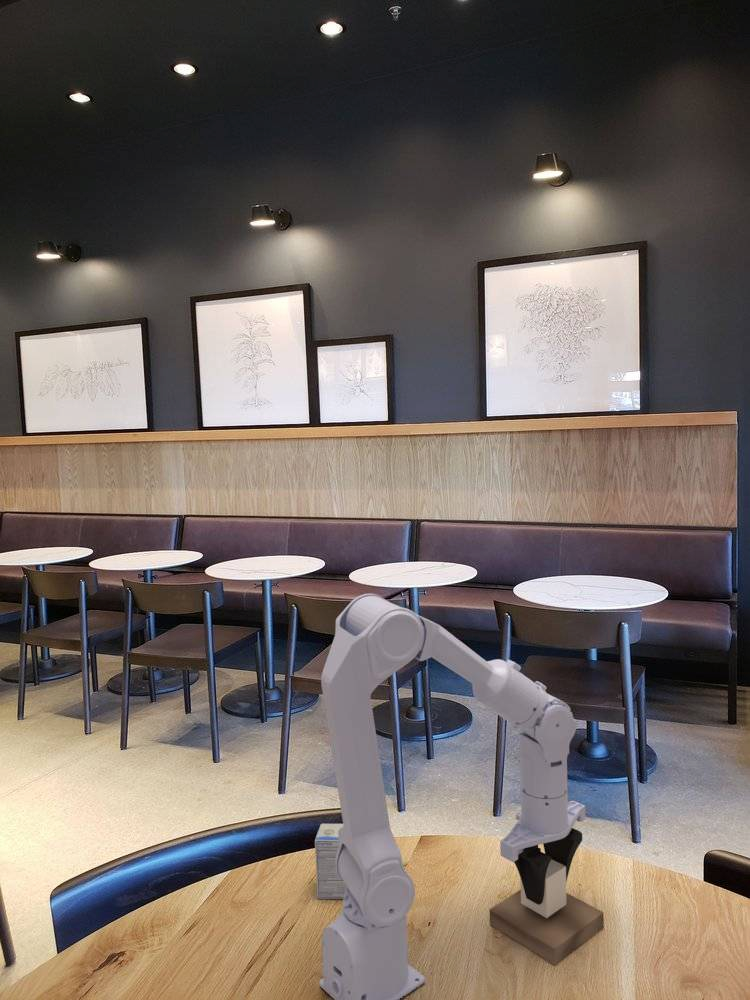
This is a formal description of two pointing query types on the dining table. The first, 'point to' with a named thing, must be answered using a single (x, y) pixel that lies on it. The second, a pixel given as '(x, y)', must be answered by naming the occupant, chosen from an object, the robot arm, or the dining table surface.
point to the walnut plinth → (547, 926)
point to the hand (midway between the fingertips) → (545, 892)
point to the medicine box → (328, 863)
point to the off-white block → (550, 891)
